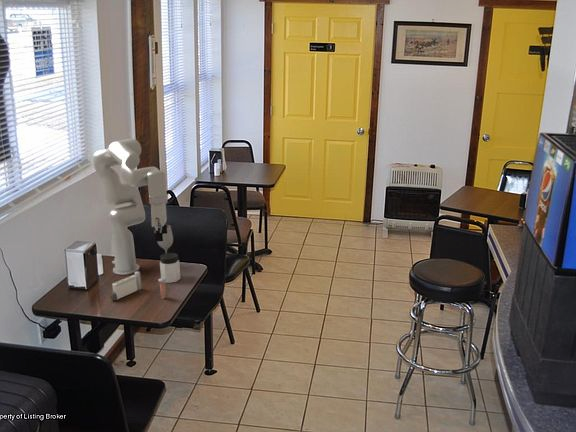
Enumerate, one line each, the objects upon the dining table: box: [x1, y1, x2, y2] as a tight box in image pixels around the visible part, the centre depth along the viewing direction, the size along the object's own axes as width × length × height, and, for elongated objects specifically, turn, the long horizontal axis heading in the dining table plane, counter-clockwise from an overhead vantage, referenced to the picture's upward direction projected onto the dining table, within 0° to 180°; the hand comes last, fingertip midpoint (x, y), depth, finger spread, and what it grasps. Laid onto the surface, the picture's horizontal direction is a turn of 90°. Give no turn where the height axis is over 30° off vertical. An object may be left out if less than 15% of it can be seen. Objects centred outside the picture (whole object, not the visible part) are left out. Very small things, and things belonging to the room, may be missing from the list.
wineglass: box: [156, 224, 174, 253], centre depth 311 cm, size 8×8×21 cm
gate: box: [109, 270, 142, 301], centre depth 282 cm, size 16×3×8 cm, turn 143°
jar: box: [159, 252, 181, 284], centre depth 297 cm, size 9×8×12 cm
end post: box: [157, 277, 168, 300], centre depth 278 cm, size 3×3×9 cm
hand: (161, 237), depth 276 cm, fingers open, 9 cm apart
